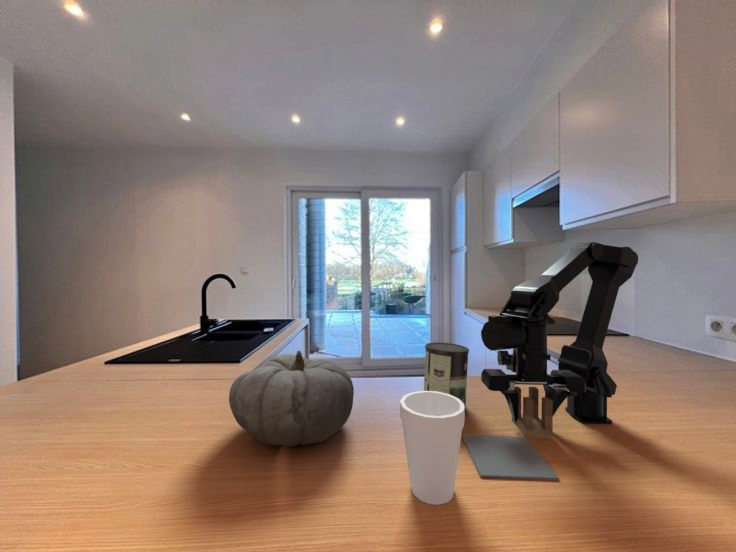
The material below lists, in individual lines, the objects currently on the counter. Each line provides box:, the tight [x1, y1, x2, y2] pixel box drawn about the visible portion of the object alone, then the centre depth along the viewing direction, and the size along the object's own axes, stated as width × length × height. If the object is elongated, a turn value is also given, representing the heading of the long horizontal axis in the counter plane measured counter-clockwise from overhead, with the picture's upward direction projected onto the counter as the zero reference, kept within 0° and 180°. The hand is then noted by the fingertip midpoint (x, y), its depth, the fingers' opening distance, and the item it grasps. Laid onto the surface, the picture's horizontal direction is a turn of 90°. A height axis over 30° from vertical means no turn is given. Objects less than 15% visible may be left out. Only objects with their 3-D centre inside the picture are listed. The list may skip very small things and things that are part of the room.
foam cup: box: [399, 390, 466, 506], centre depth 46 cm, size 10×9×13 cm
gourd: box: [228, 350, 355, 447], centre depth 64 cm, size 25×25×17 cm
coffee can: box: [423, 341, 470, 410], centre depth 74 cm, size 10×10×14 cm
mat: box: [461, 434, 560, 481], centre depth 54 cm, size 12×12×1 cm
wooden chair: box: [511, 386, 554, 439], centre depth 63 cm, size 7×5×8 cm
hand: (531, 421), depth 63 cm, fingers open, 6 cm apart
